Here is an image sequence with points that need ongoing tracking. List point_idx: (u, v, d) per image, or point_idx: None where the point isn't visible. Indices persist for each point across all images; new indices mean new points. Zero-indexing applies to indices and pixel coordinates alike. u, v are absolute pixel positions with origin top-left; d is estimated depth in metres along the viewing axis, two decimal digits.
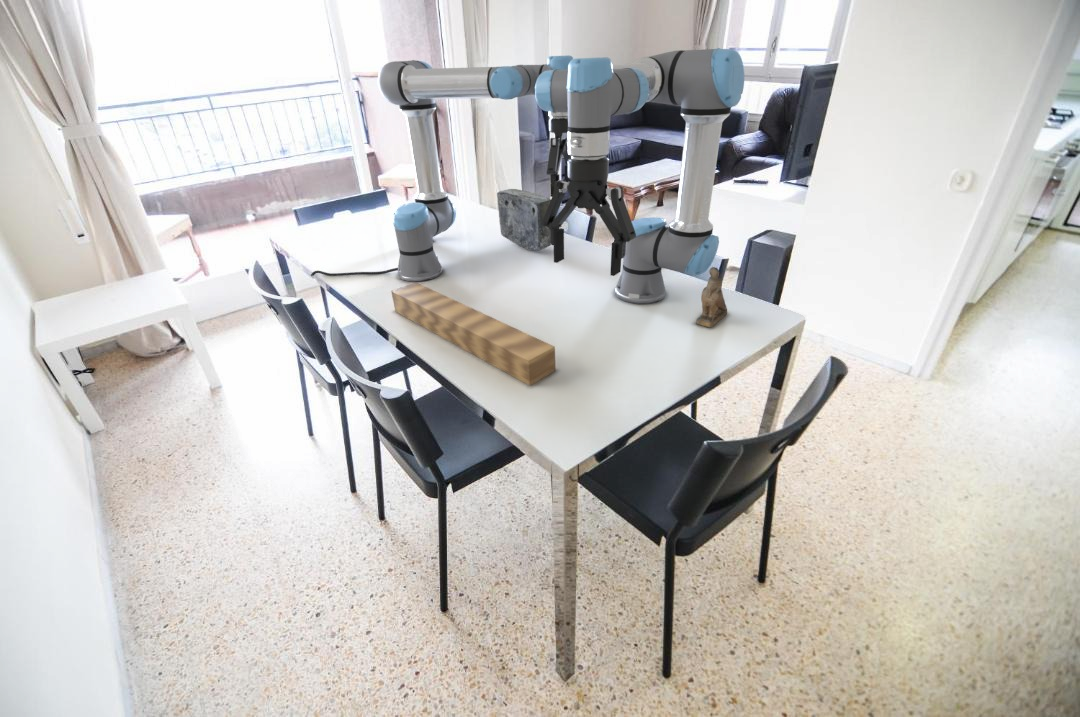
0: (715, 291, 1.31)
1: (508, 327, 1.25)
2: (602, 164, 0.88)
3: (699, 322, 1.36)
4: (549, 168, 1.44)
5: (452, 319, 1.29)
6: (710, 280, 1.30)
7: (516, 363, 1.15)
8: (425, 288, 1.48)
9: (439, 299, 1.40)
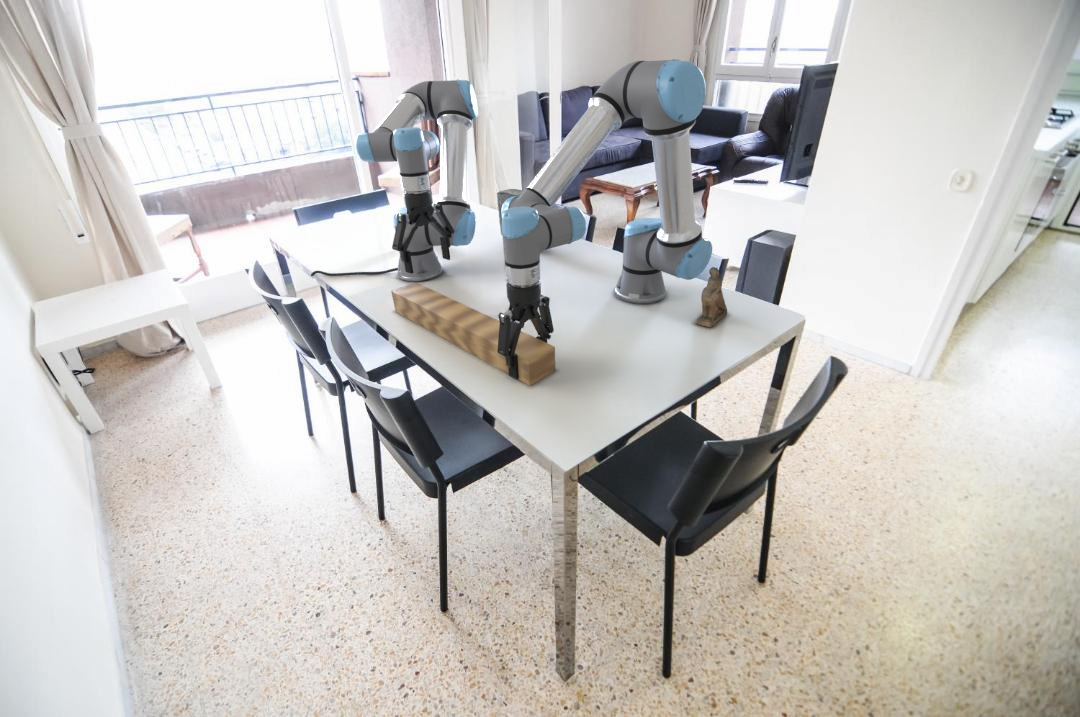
0: (715, 291, 1.31)
1: None
2: None
3: (699, 322, 1.36)
4: (394, 244, 1.35)
5: (452, 319, 1.29)
6: (710, 280, 1.30)
7: None
8: (425, 288, 1.48)
9: (439, 299, 1.40)
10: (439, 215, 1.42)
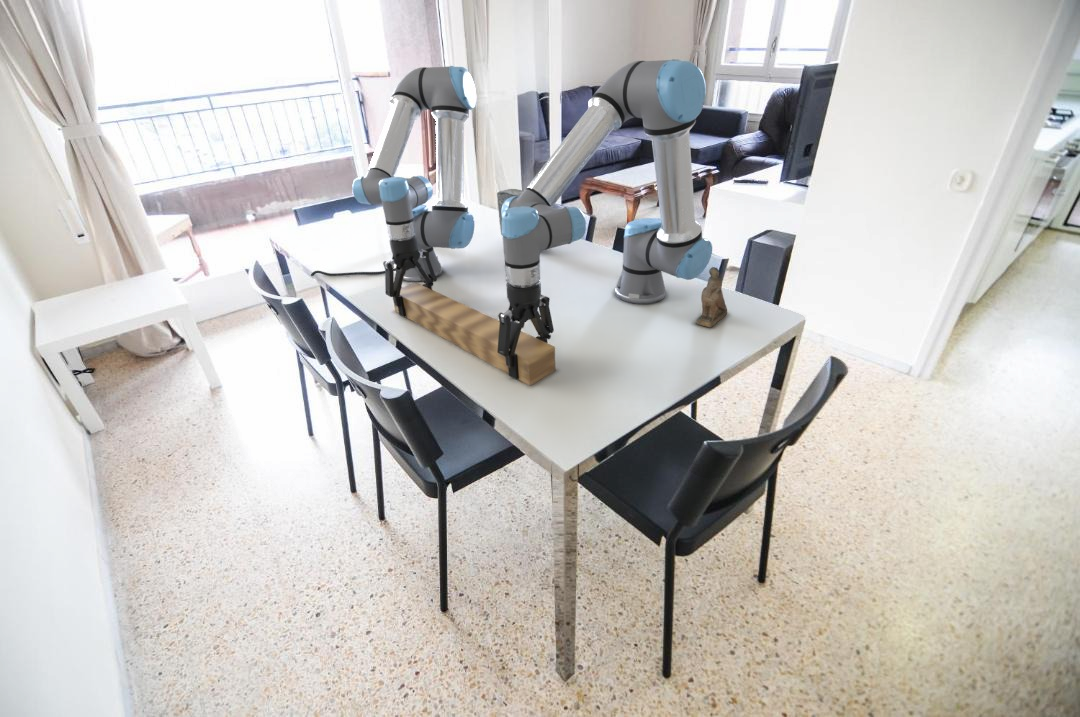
0: (715, 291, 1.31)
1: None
2: None
3: (699, 322, 1.36)
4: (386, 291, 1.41)
5: (452, 319, 1.29)
6: (710, 280, 1.30)
7: None
8: (425, 288, 1.48)
9: (439, 299, 1.40)
10: (424, 261, 1.46)
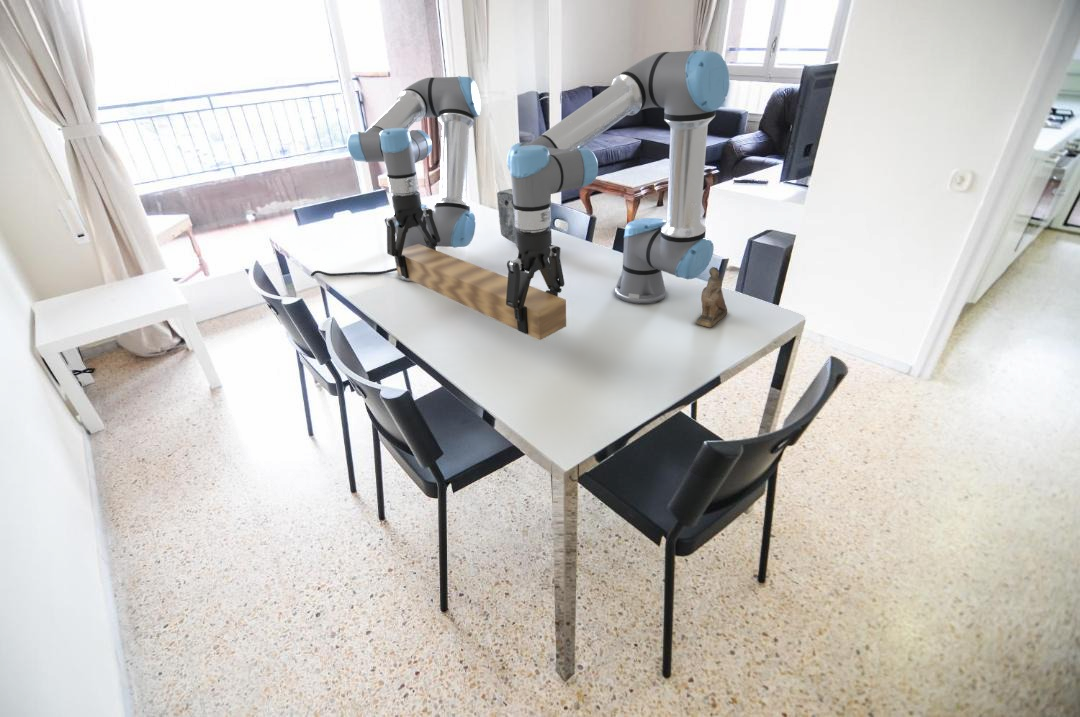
0: (715, 291, 1.31)
1: None
2: None
3: (699, 322, 1.36)
4: (388, 250, 1.36)
5: (457, 276, 1.24)
6: (710, 280, 1.30)
7: None
8: (428, 249, 1.42)
9: (444, 259, 1.35)
10: (428, 220, 1.40)
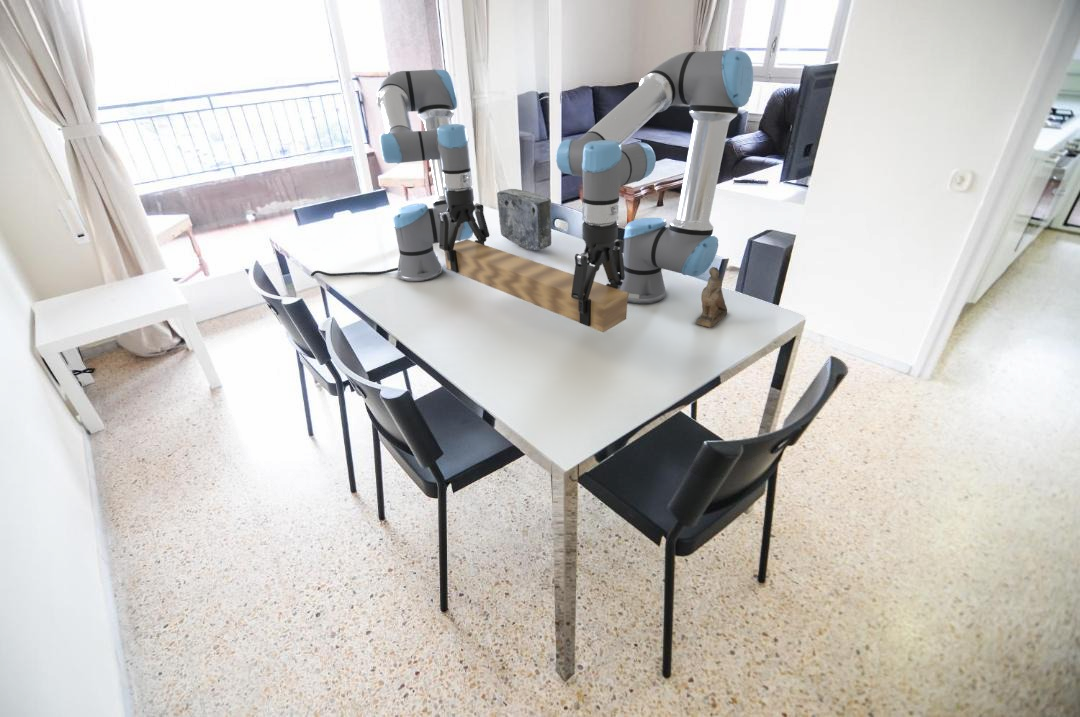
0: (715, 291, 1.31)
1: None
2: None
3: (699, 322, 1.36)
4: (440, 244, 1.37)
5: (514, 270, 1.26)
6: (710, 280, 1.30)
7: None
8: (478, 244, 1.44)
9: (496, 253, 1.37)
10: (478, 215, 1.42)
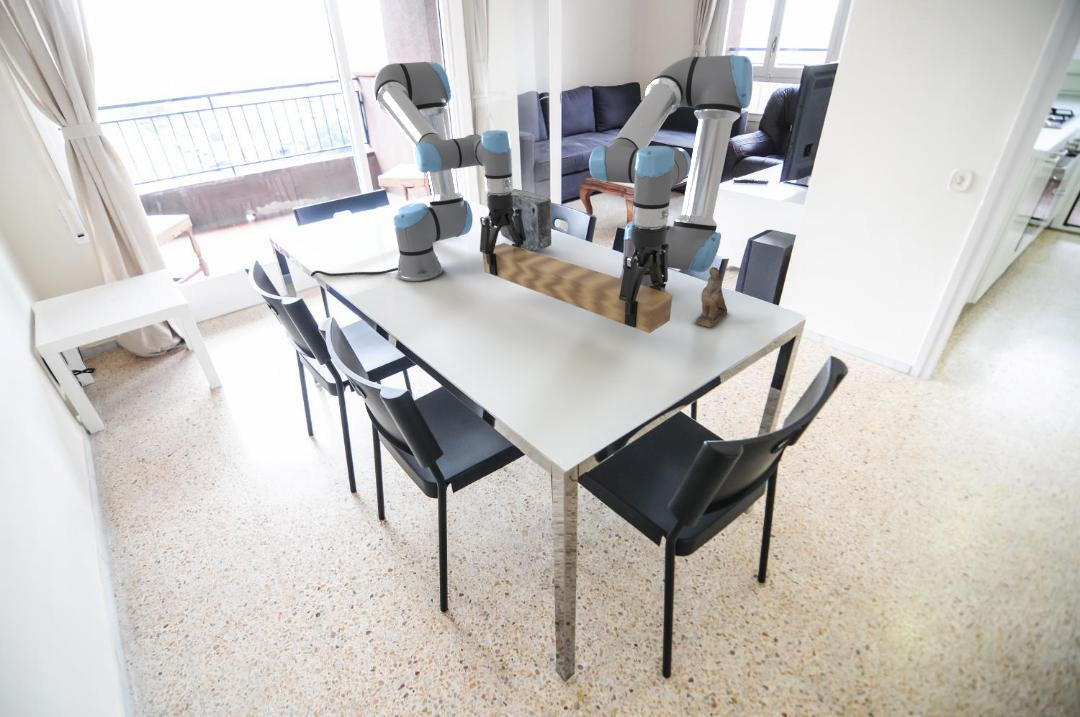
0: (715, 291, 1.31)
1: (617, 279, 1.24)
2: None
3: (699, 322, 1.36)
4: (481, 248, 1.40)
5: (556, 273, 1.28)
6: (710, 280, 1.30)
7: None
8: (516, 247, 1.47)
9: (535, 257, 1.39)
10: (516, 219, 1.45)
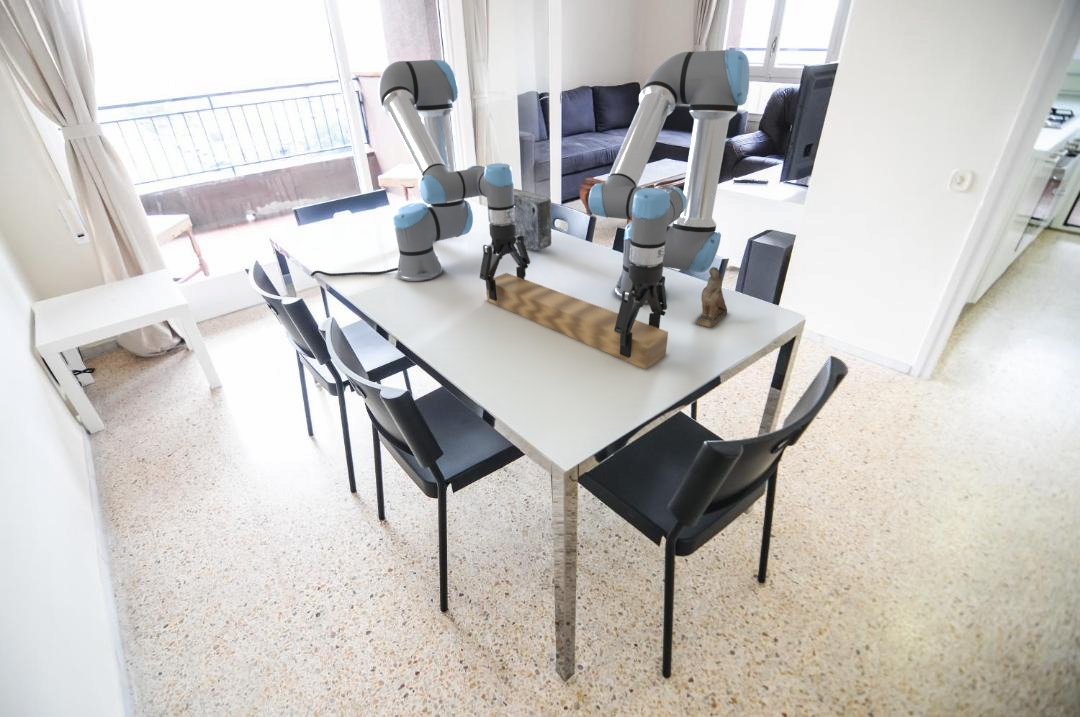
0: (715, 291, 1.31)
1: (615, 314, 1.29)
2: None
3: (699, 322, 1.36)
4: (481, 274, 1.43)
5: (557, 307, 1.33)
6: (710, 280, 1.30)
7: (632, 347, 1.19)
8: (518, 278, 1.52)
9: (537, 289, 1.44)
10: (519, 245, 1.49)
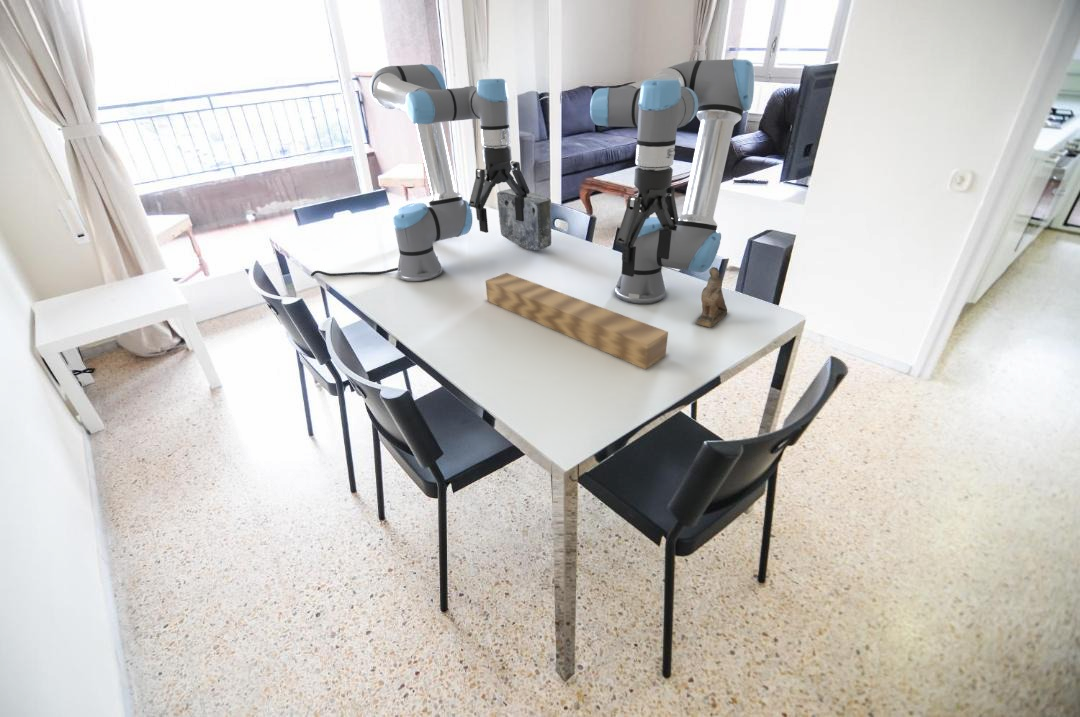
0: (715, 291, 1.31)
1: (615, 314, 1.29)
2: None
3: (699, 322, 1.36)
4: (471, 201, 1.32)
5: (557, 307, 1.33)
6: (710, 280, 1.30)
7: (632, 347, 1.19)
8: (518, 278, 1.52)
9: (537, 289, 1.44)
10: (516, 173, 1.38)
